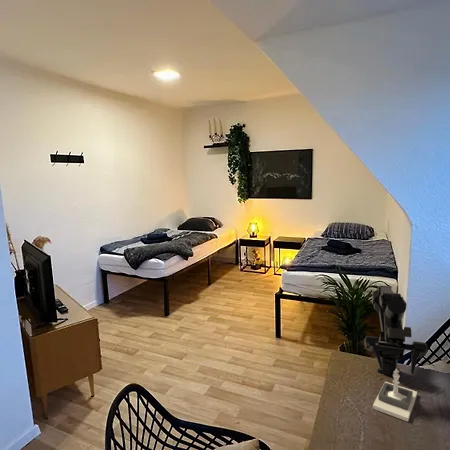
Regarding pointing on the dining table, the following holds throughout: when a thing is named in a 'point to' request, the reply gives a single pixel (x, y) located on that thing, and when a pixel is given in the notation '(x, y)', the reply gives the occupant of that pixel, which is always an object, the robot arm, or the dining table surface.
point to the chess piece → (396, 387)
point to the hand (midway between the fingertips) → (396, 371)
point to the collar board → (395, 402)
